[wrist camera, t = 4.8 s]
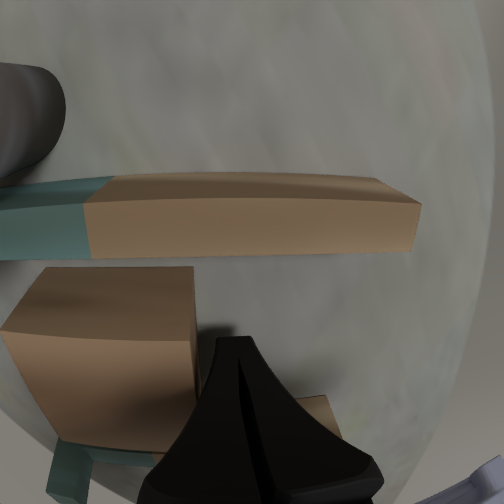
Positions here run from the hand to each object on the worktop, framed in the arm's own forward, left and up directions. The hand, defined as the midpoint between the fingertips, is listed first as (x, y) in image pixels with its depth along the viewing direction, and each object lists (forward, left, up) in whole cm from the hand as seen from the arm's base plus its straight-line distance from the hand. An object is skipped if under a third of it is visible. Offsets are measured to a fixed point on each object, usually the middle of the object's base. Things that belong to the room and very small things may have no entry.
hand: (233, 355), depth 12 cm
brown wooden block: (0, +4, -1) cm, 5 cm away
